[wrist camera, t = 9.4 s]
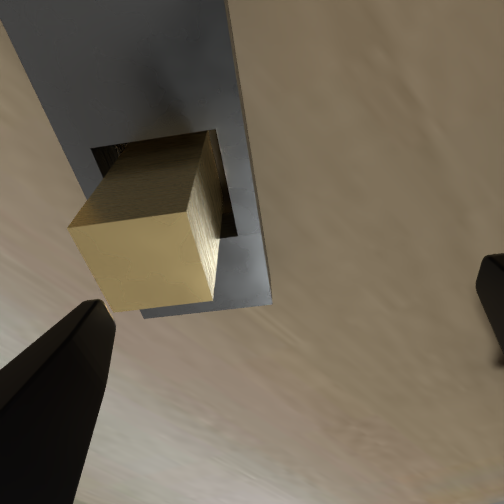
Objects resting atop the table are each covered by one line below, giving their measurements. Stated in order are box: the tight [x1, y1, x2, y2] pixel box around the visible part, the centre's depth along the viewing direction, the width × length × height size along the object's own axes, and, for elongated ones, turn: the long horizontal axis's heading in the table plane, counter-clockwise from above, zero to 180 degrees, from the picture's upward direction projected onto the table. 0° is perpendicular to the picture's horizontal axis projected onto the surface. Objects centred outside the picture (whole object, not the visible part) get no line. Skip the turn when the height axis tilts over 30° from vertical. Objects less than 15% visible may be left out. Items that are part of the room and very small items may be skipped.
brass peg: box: [67, 130, 224, 312], centre depth 16 cm, size 4×4×8 cm
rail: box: [0, 0, 272, 319], centre depth 15 cm, size 8×28×2 cm, turn 8°
